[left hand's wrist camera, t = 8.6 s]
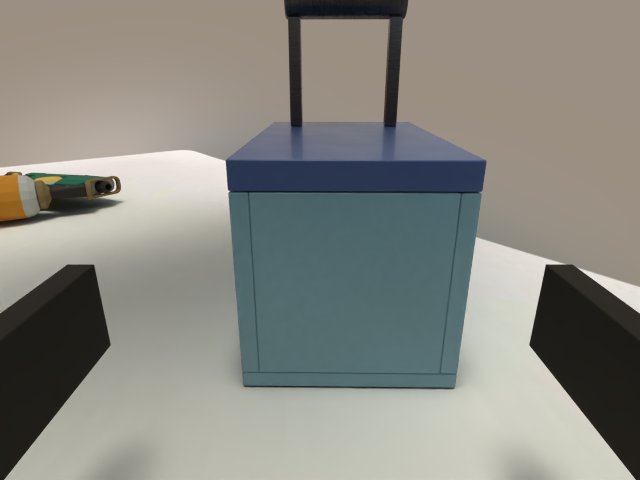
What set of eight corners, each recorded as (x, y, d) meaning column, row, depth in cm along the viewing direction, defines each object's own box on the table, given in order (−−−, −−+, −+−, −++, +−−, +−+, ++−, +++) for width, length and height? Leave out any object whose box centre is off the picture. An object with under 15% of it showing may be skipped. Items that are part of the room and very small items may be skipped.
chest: (277, 259, 32) (273, 141, 29) (401, 260, 32) (410, 141, 28) (243, 386, 19) (227, 192, 15) (455, 388, 18) (482, 193, 15)
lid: (274, 138, 29) (269, -7, 26) (408, 139, 29) (418, -7, 26) (227, 191, 15) (204, -107, 12) (482, 192, 15) (524, -108, 12)
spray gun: (-83, 212, 45) (69, 190, 56) (-45, 237, 34) (132, 204, 45) (-95, 172, 43) (62, 157, 54) (-59, 186, 33) (126, 165, 44)
